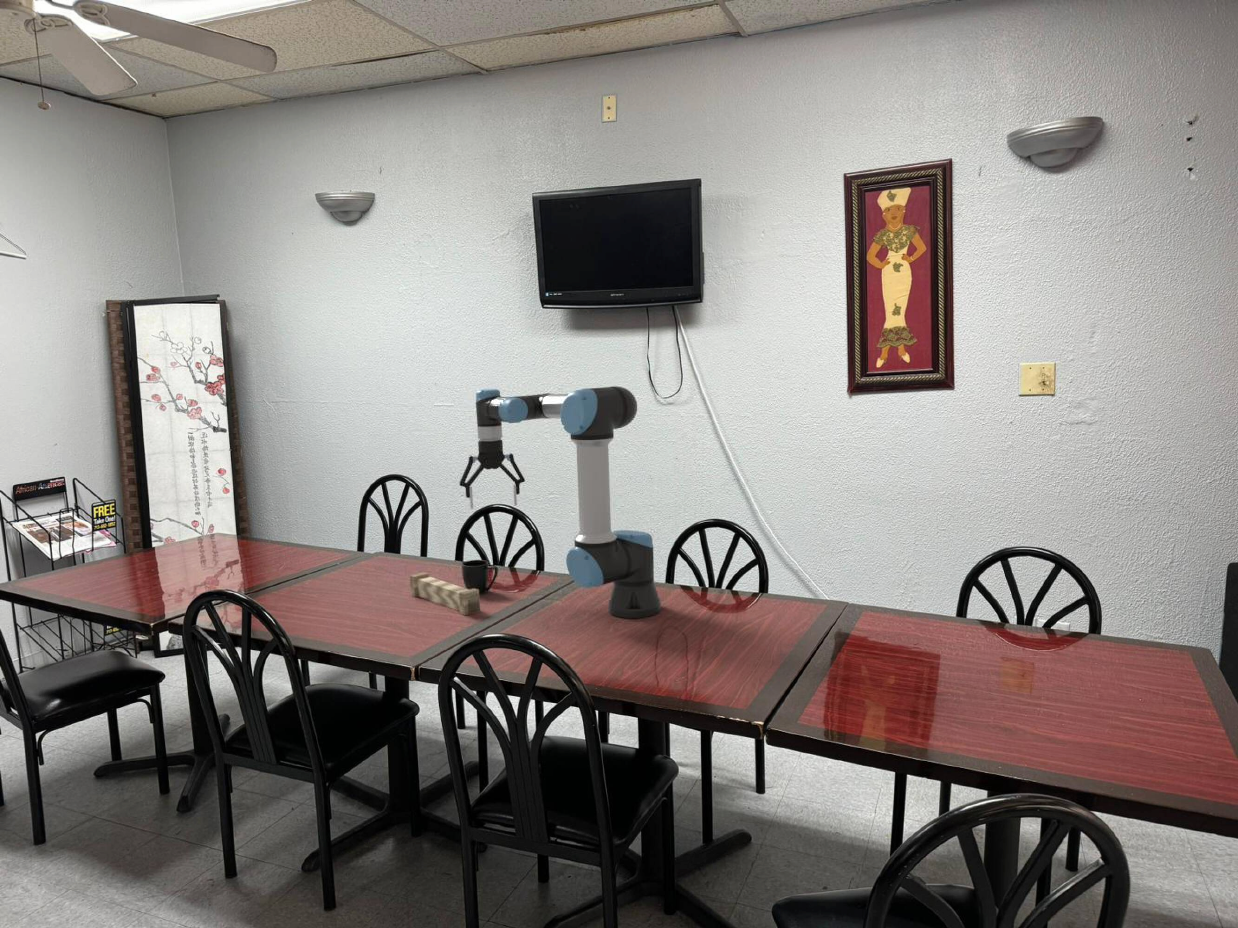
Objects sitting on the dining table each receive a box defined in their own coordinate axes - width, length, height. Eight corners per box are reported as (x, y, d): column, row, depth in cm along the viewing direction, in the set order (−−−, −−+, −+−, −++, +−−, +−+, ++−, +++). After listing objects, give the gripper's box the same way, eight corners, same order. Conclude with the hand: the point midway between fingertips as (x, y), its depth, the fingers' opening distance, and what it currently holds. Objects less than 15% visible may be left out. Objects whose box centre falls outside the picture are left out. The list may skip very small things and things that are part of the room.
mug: (491, 598, 271) (489, 568, 269) (458, 594, 276) (456, 565, 274) (505, 591, 278) (503, 561, 277) (472, 587, 283) (471, 558, 282)
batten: (480, 611, 259) (478, 589, 258) (465, 615, 255) (463, 593, 254) (425, 591, 280) (424, 572, 279) (411, 595, 277) (409, 575, 276)
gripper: (528, 435, 281) (531, 501, 284) (448, 440, 275) (452, 506, 279) (531, 438, 274) (534, 505, 277) (449, 443, 268) (453, 511, 271)
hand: (493, 506), depth 278 cm, fingers open, 13 cm apart
